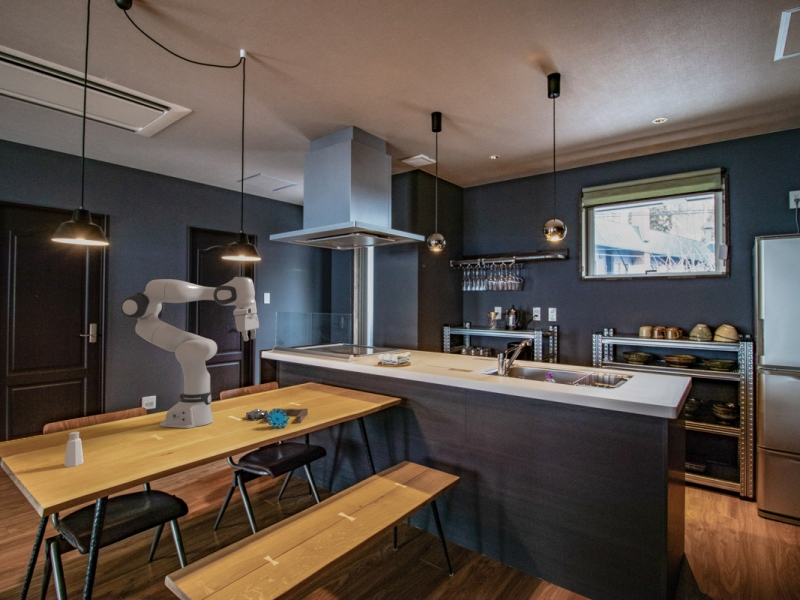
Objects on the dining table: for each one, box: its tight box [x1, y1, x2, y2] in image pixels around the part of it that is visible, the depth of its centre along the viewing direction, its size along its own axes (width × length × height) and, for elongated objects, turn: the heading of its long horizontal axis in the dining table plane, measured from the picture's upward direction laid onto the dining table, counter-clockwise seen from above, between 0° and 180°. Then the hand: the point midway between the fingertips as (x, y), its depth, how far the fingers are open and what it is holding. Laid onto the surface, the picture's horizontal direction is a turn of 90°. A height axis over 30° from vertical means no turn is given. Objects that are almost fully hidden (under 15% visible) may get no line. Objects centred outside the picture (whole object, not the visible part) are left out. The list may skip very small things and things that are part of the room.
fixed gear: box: [245, 408, 269, 421], centre depth 206 cm, size 10×10×4 cm
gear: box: [267, 408, 291, 430], centre depth 192 cm, size 11×6×10 cm
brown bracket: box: [263, 408, 309, 424], centre depth 204 cm, size 17×15×3 cm
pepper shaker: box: [64, 431, 85, 468], centre depth 146 cm, size 5×5×11 cm
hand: (249, 339), depth 197 cm, fingers open, 8 cm apart
